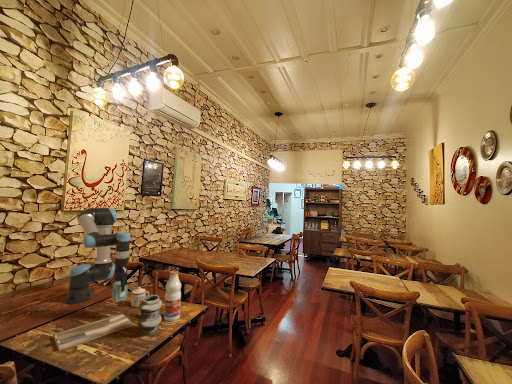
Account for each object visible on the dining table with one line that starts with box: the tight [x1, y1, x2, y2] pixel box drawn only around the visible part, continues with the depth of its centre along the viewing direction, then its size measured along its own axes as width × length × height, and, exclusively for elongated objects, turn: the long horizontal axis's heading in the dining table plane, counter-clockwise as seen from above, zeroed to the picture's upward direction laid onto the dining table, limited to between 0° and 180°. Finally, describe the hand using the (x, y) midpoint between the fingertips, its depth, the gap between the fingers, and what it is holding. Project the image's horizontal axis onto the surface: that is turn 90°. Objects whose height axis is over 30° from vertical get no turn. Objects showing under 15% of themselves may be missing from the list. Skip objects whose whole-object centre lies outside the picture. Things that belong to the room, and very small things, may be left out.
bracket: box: [111, 281, 129, 303], centre depth 146 cm, size 8×6×9 cm
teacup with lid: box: [130, 286, 150, 308], centre depth 162 cm, size 12×9×12 cm
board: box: [53, 313, 133, 352], centre depth 126 cm, size 15×32×5 cm, turn 138°
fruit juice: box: [163, 270, 182, 322], centre depth 145 cm, size 9×9×28 cm
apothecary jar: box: [137, 294, 163, 337], centre depth 129 cm, size 12×12×18 cm
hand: (119, 294), depth 146 cm, fingers closed on bracket, 7 cm apart
